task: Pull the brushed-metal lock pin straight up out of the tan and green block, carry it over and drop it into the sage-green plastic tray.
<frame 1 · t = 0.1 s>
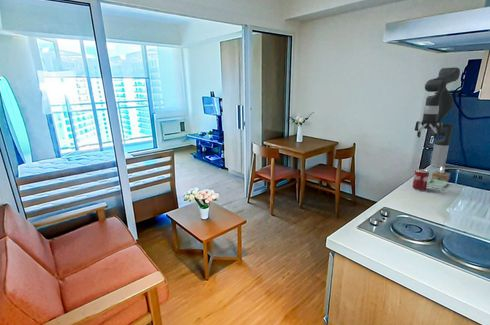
hand: (426, 138, 166), 29 cm above the counter, fingers open, 8 cm apart
tan and green block: (440, 180, 173), on the counter
soda can: (418, 189, 160), on the counter
tray: (436, 185, 164), on the counter
lock pin: (440, 178, 173), point 1 cm above the counter, touching tan and green block
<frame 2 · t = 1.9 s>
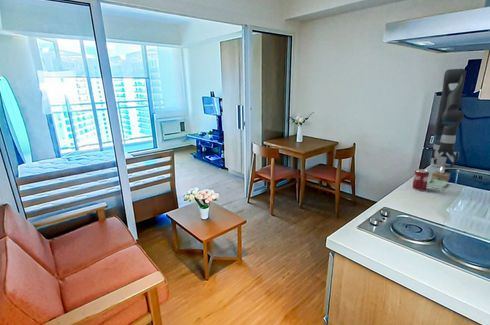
hand: (442, 165, 170), 10 cm above the counter, fingers open, 8 cm apart
nothing on the counter moved.
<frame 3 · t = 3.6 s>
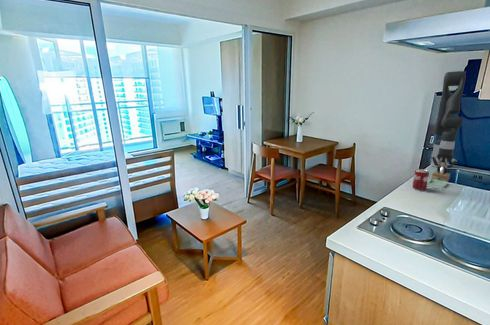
hand: (441, 172, 171), 6 cm above the counter, fingers closed on lock pin, 2 cm apart
lock pin: (440, 178, 173), point 1 cm above the counter, touching gripper, tan and green block
everything else where it was.
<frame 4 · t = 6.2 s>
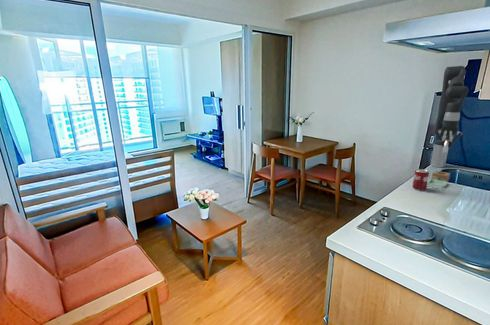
hand: (446, 146, 163), 24 cm above the counter, fingers closed on lock pin, 2 cm apart
lock pin: (444, 153, 164), point 19 cm above the counter, touching gripper
everything else where it was.
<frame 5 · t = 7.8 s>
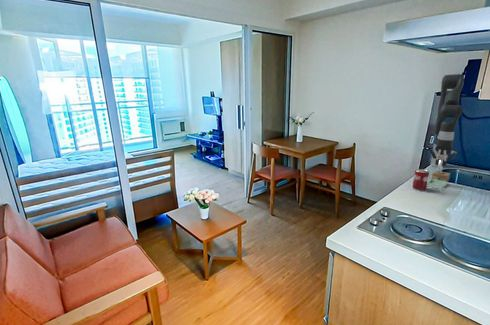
hand: (440, 165, 160), 14 cm above the counter, fingers closed on lock pin, 2 cm apart
lock pin: (439, 172, 161), point 9 cm above the counter, touching gripper
everything else where it was.
when the fingers open (8 cm above the counter, at t = 9.1 s): lock pin drops 2 cm, resting on tray.
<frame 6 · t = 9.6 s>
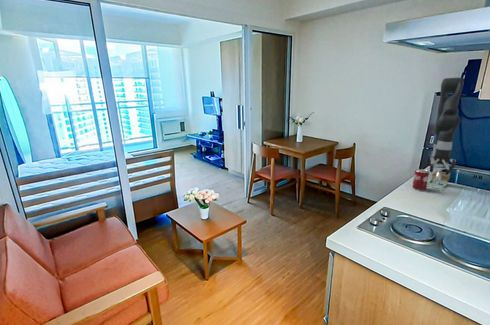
hand: (438, 173, 162), 8 cm above the counter, fingers open, 7 cm apart
lock pin: (436, 185, 164), point 1 cm above the counter, touching tray
everything else where it was.
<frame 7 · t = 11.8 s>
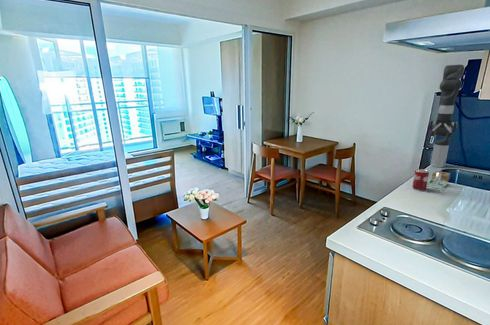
hand: (440, 137, 168), 29 cm above the counter, fingers open, 8 cm apart
nothing on the counter moved.
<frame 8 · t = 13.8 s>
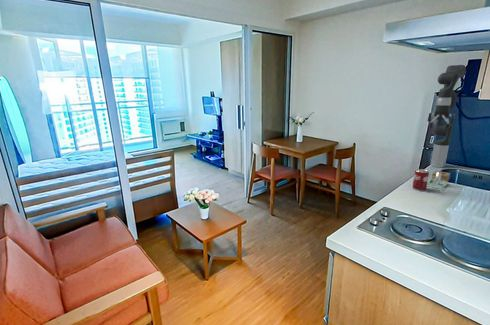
hand: (438, 128, 176), 33 cm above the counter, fingers open, 8 cm apart
nothing on the counter moved.
at the end: lock pin inside the target area on the tray (0.1 cm from its centre), point 0.5 cm above the tray's base; the gripper is holding nothing; lock pin touching tray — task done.
